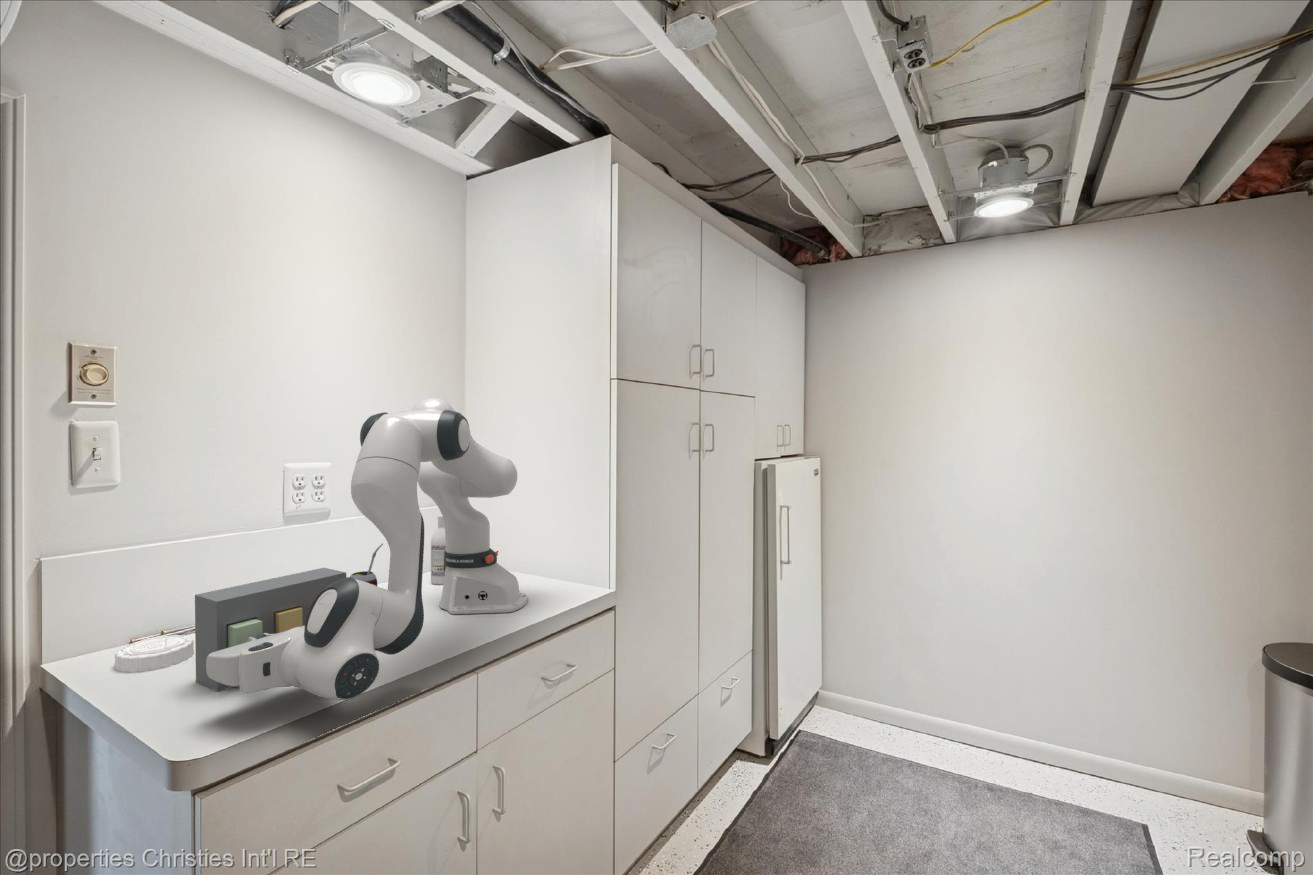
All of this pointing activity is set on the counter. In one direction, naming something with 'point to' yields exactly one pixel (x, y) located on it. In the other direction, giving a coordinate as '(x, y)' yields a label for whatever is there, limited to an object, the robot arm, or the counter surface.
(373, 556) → the mate gourd
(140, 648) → the mooncake
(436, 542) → the bath foam
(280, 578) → the console
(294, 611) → the button ochre
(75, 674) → the counter surface
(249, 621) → the button sage
